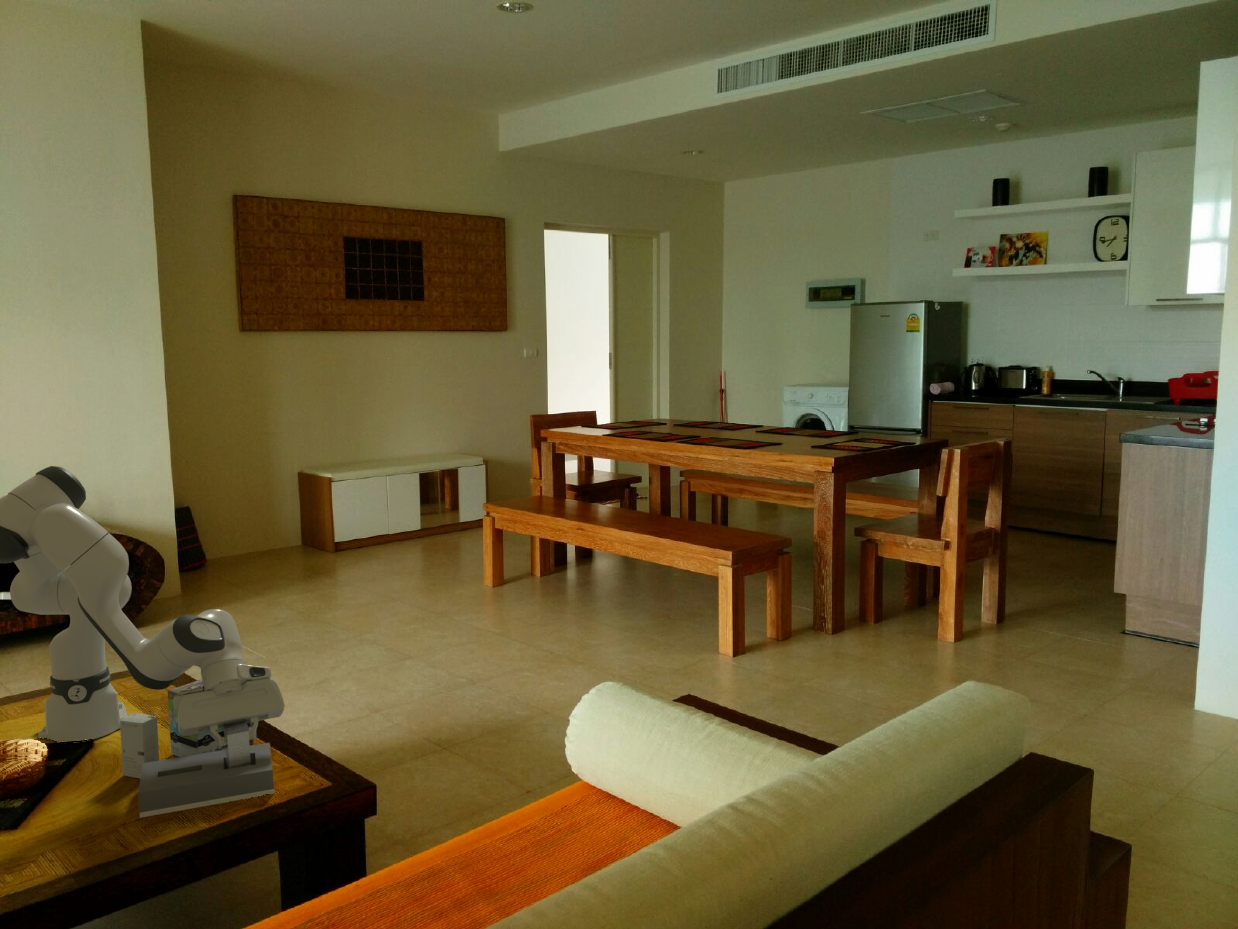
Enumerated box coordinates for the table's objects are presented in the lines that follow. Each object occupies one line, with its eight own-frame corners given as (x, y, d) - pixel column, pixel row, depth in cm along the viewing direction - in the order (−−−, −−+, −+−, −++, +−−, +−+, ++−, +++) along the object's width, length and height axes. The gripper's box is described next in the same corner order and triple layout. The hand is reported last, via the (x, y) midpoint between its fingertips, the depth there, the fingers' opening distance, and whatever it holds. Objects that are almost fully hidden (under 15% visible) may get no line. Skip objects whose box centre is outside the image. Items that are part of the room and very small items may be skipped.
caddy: (145, 786, 198) (143, 763, 197) (271, 765, 207) (269, 742, 206) (139, 817, 185) (137, 792, 185) (274, 793, 194) (272, 769, 193)
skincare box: (122, 776, 203) (116, 720, 201) (138, 767, 207) (133, 712, 206) (146, 780, 201) (141, 723, 200) (162, 770, 205) (157, 715, 204)
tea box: (199, 765, 208) (193, 698, 206) (170, 755, 213) (164, 689, 211) (258, 739, 220) (254, 676, 218) (230, 730, 226) (225, 668, 224)
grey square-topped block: (226, 762, 198) (223, 724, 197) (247, 758, 200) (244, 720, 199) (229, 770, 195) (226, 731, 193) (251, 765, 197) (248, 727, 196)
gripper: (171, 685, 196) (181, 749, 189) (277, 666, 206) (291, 726, 199) (170, 700, 200) (180, 763, 193) (274, 680, 211) (287, 739, 204)
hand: (237, 744), depth 196 cm, fingers closed on grey square-topped block, 4 cm apart
